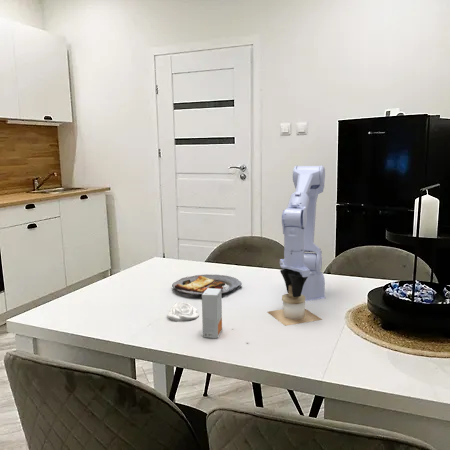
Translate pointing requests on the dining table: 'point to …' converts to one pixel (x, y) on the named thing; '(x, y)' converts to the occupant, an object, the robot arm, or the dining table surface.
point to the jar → (294, 310)
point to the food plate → (205, 283)
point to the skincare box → (212, 312)
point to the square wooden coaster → (279, 316)
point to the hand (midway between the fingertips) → (293, 294)
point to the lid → (290, 299)
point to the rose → (183, 312)
